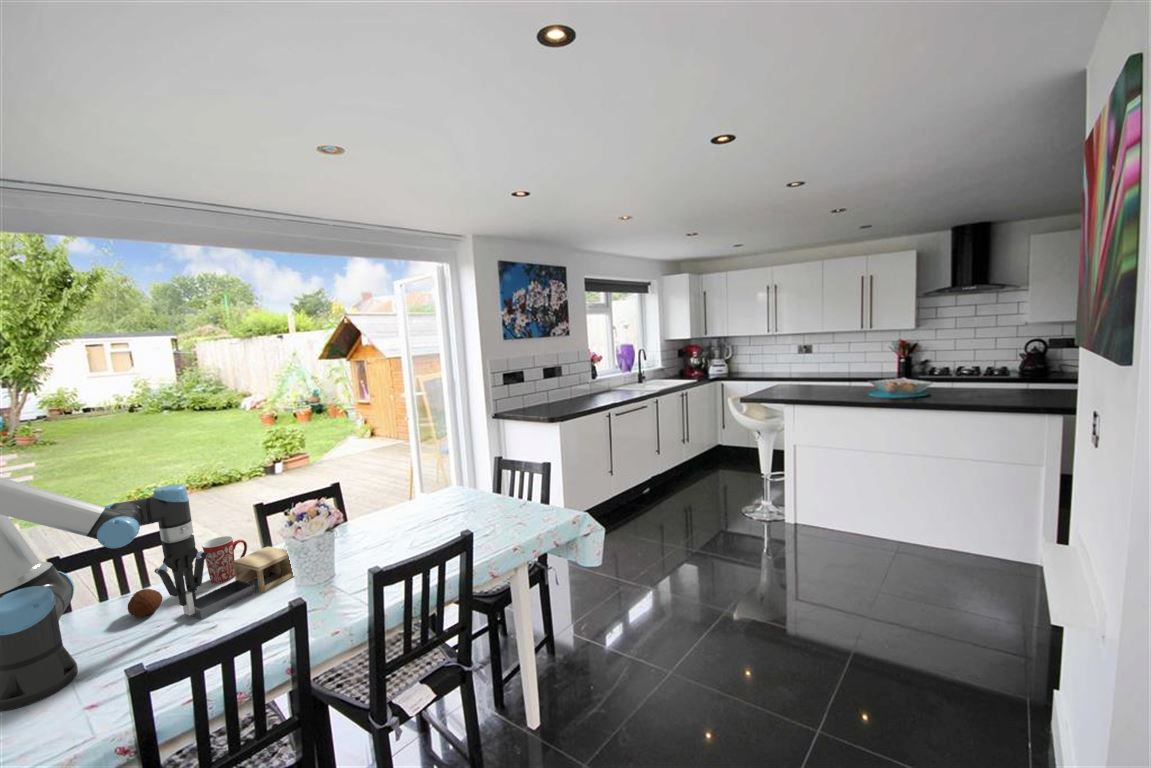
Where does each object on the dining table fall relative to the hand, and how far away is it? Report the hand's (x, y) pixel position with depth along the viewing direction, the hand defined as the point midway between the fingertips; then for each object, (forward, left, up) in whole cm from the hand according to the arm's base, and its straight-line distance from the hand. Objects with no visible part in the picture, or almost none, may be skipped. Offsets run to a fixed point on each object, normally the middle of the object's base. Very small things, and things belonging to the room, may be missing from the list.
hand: (189, 613), depth 151 cm
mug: (+21, +16, -2) cm, 27 cm away
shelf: (+23, 0, -2) cm, 23 cm away
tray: (+9, 0, -2) cm, 9 cm away
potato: (-3, +17, -2) cm, 18 cm away
